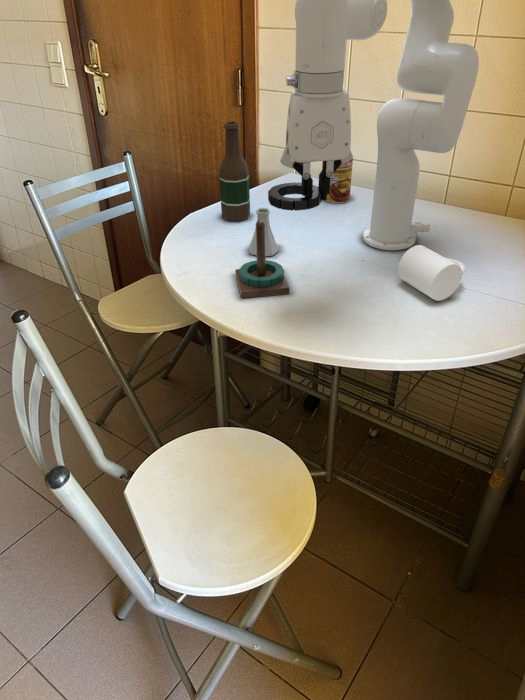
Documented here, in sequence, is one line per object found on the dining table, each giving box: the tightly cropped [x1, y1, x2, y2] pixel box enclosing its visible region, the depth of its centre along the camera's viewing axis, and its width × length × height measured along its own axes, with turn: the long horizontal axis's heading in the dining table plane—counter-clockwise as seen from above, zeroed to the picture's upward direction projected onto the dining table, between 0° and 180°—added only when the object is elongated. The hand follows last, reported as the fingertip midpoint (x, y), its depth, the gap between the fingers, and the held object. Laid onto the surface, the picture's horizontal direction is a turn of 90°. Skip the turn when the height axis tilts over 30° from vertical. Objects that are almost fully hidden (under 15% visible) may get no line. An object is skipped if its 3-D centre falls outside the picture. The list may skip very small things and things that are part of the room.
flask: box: [248, 207, 279, 257], centre depth 122 cm, size 7×7×10 cm
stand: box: [234, 220, 290, 299], centre depth 108 cm, size 10×10×14 cm
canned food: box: [325, 154, 354, 204], centre depth 148 cm, size 8×8×12 cm
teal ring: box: [238, 259, 285, 287], centre depth 111 cm, size 9×9×2 cm
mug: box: [397, 244, 467, 302], centre depth 107 cm, size 12×10×8 cm
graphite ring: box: [267, 181, 323, 211], centre depth 91 cm, size 9×9×2 cm
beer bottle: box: [218, 120, 251, 223], centre depth 135 cm, size 8×8×24 cm
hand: (315, 197), depth 92 cm, fingers closed on graphite ring, 2 cm apart
